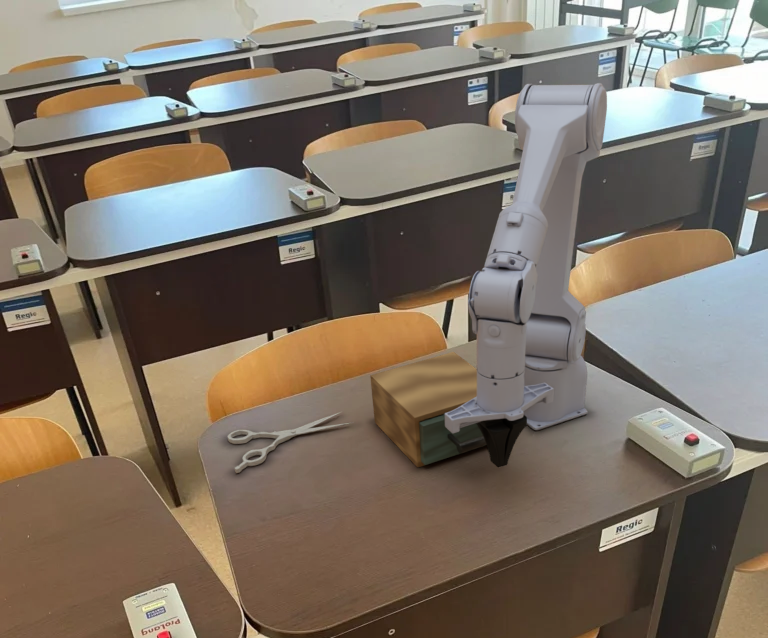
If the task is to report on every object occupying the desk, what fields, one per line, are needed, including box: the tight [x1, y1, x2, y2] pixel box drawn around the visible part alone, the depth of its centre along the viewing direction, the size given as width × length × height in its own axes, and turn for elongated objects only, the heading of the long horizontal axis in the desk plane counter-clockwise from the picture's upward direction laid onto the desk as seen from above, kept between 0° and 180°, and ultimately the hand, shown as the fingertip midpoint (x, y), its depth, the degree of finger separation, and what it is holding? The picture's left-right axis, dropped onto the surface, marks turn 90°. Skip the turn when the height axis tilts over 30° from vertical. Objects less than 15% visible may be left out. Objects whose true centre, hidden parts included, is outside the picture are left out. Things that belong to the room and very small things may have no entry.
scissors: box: [227, 411, 355, 474], centre depth 115 cm, size 11×1×20 cm
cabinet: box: [369, 351, 477, 468], centre depth 111 cm, size 15×14×8 cm
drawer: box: [419, 415, 487, 466], centre depth 108 cm, size 18×13×6 cm
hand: (498, 462), depth 99 cm, fingers closed
